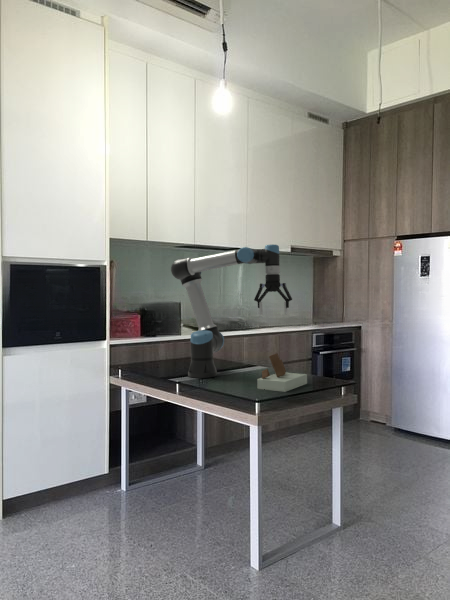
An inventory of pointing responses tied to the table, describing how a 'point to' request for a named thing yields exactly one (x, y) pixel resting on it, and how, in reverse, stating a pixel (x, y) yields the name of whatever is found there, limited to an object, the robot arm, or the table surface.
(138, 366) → the table surface
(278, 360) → the wooden block set
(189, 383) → the table surface
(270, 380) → the sage base block
